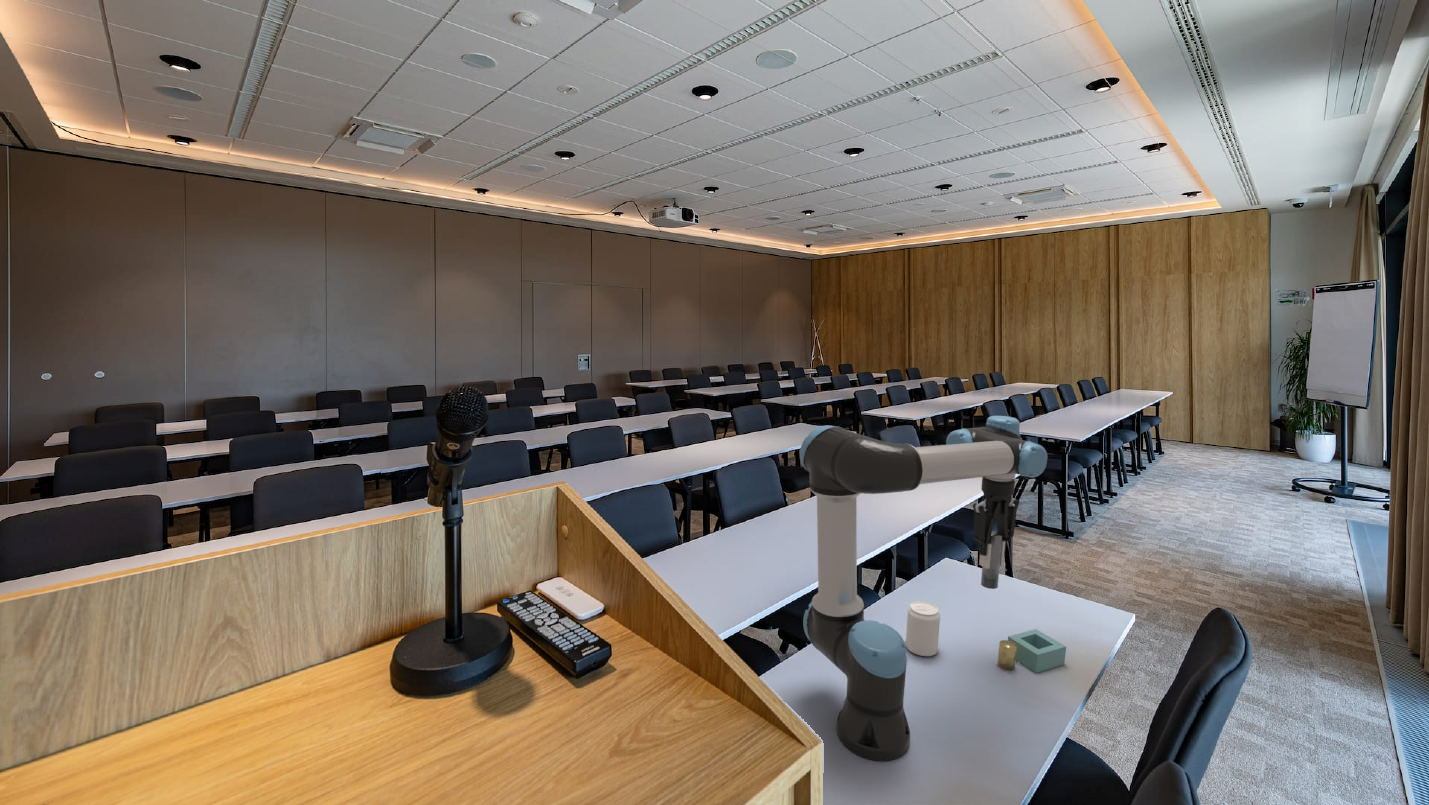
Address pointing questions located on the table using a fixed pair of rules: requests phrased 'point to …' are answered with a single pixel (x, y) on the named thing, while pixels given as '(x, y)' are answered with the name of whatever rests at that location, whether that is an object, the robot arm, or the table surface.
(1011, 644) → the short pin
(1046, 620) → the table surface
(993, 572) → the long pin
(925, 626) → the beverage can
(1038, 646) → the hole block
